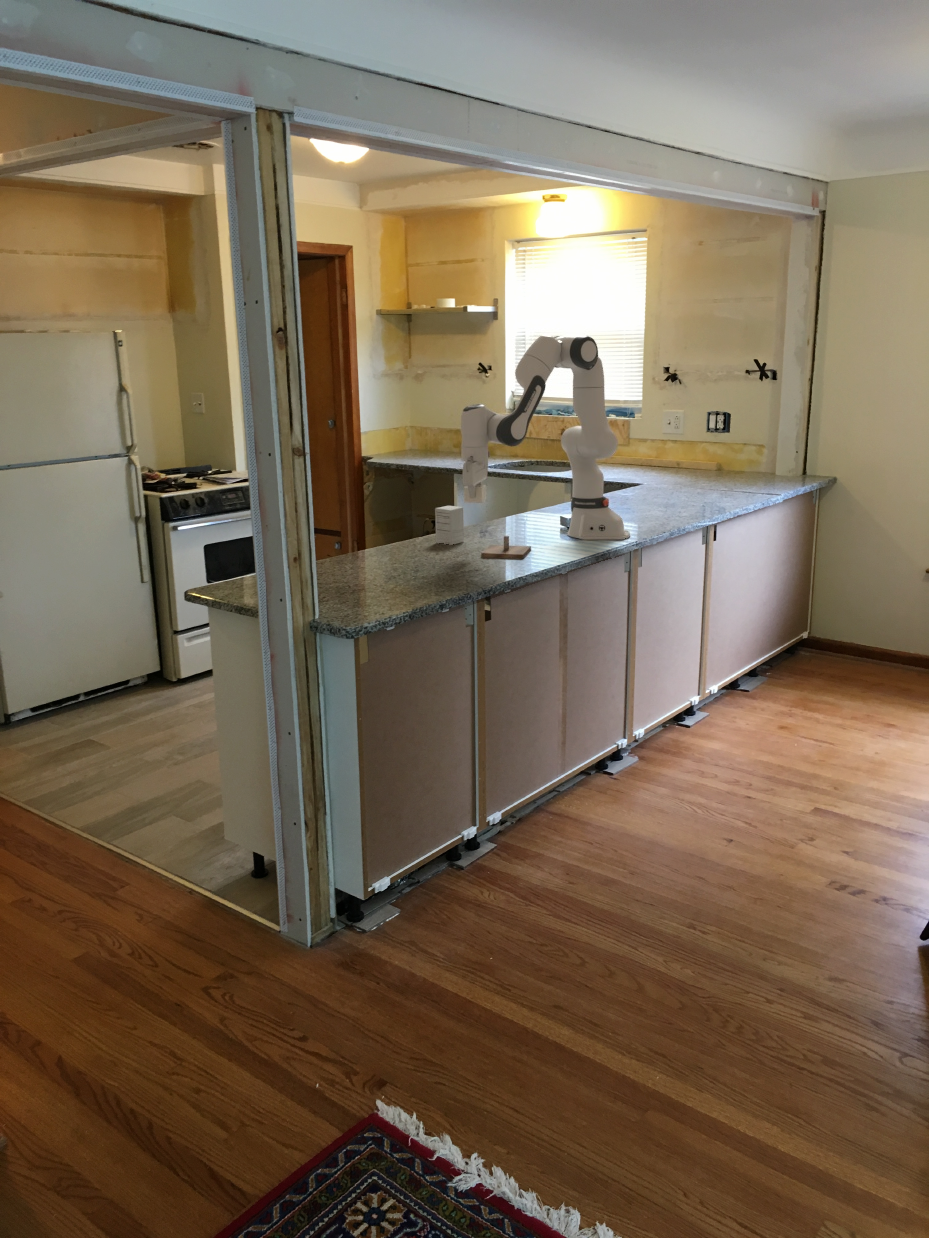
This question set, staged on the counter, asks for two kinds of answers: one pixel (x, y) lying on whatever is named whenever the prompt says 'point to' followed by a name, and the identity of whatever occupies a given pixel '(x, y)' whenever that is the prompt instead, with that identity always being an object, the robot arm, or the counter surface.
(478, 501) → the collar
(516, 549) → the pin board
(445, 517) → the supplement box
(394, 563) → the counter surface
